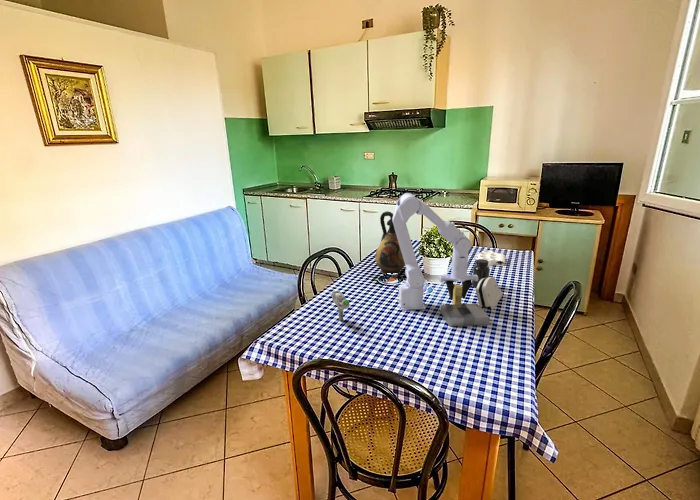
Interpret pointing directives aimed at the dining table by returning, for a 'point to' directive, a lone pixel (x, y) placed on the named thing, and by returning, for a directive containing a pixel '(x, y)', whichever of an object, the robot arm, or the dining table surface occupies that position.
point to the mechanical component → (340, 302)
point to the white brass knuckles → (492, 257)
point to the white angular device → (488, 292)
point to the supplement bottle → (480, 271)
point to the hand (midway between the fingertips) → (457, 297)
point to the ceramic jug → (389, 249)
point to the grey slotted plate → (464, 314)
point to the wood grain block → (457, 294)
